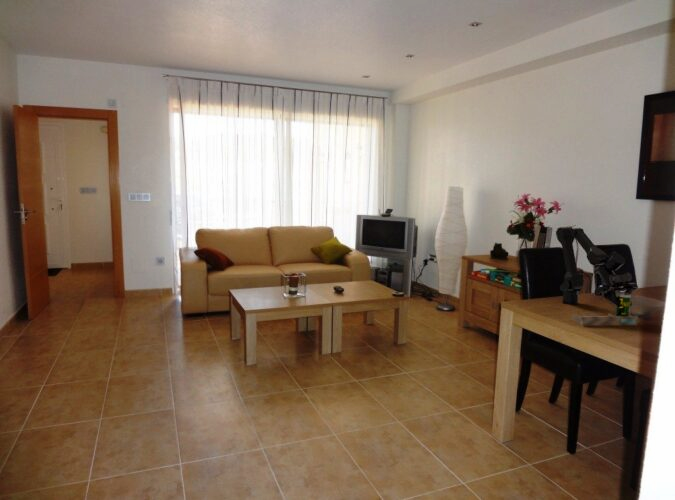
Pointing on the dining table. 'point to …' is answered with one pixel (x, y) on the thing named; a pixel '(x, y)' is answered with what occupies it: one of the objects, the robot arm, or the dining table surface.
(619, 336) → the dining table surface
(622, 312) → the beer can
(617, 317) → the can rack
